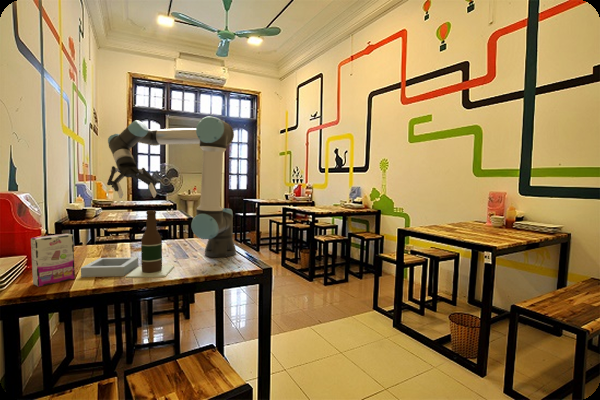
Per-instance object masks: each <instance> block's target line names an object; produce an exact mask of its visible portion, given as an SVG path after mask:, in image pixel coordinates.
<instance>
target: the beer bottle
mask: <svg viewBox="0 0 600 400" xmlns="http://www.w3.org/2000/svg"><path fill="white" fill-rule="evenodd" d="M145 214H146V228H145V231H144V233H143V234H142V236H141V240H140V241H141V243H140V247H141V250H140V251H141V252H140V253H141V254H140V255H141V257H140V258H141V263H140V264H141V265H140V266H142V272H143V273H154V272H158V271H161V270H162V266H163V240H162V236H161V233H159V231H158V228H157V210H155V209H154V210H151V209H150V210H146V212H145Z"/></svg>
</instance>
